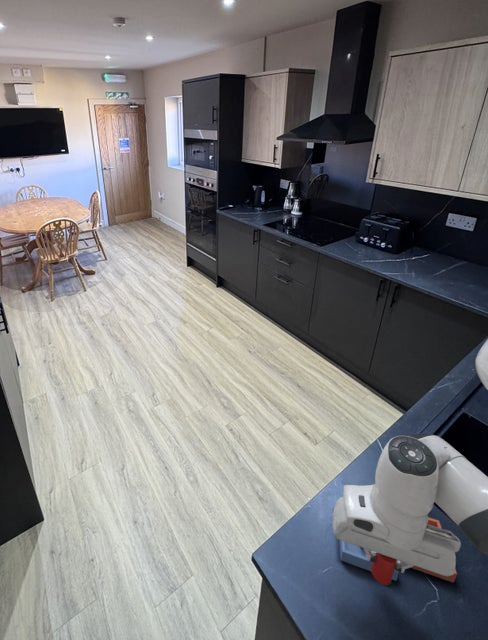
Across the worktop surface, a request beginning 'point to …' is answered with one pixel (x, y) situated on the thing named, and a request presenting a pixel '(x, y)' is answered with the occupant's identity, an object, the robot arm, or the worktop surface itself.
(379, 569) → the red peg
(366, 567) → the blue bin
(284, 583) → the worktop surface
